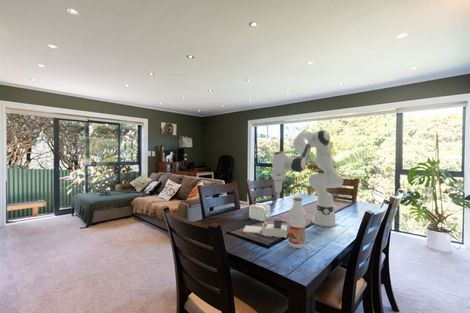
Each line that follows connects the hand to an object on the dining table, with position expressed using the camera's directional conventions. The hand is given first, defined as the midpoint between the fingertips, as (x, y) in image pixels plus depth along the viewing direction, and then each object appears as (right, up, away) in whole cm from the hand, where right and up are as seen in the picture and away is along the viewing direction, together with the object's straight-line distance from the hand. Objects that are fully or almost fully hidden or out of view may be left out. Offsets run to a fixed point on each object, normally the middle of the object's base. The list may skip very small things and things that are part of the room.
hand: (278, 196), depth 148 cm
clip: (-7, -20, +6) cm, 22 cm away
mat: (-16, -25, +8) cm, 31 cm away
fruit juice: (+8, -26, -16) cm, 31 cm away
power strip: (-2, -25, +1) cm, 25 cm away
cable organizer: (-9, -24, +34) cm, 43 cm away
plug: (+1, -23, 0) cm, 23 cm away
